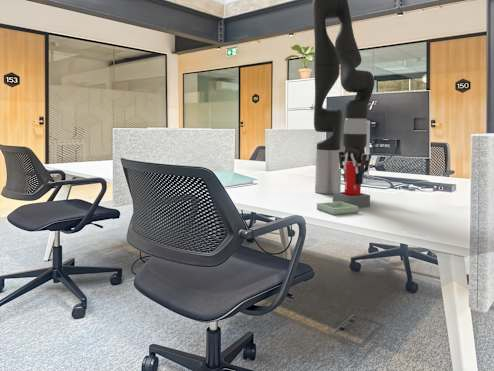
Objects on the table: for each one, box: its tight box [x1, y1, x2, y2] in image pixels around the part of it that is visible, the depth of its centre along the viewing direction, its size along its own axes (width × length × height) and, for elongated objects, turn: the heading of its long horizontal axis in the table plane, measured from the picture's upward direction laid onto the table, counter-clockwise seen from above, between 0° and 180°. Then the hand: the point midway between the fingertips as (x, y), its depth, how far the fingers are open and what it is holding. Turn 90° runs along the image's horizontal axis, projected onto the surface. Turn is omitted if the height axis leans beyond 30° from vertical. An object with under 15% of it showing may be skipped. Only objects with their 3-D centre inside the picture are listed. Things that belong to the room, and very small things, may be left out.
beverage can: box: [343, 161, 362, 196], centre depth 138 cm, size 5×5×12 cm
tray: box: [316, 201, 360, 216], centre depth 130 cm, size 9×9×2 cm
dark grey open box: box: [332, 191, 371, 209], centre depth 139 cm, size 9×9×4 cm
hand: (352, 183), depth 138 cm, fingers closed on beverage can, 5 cm apart
